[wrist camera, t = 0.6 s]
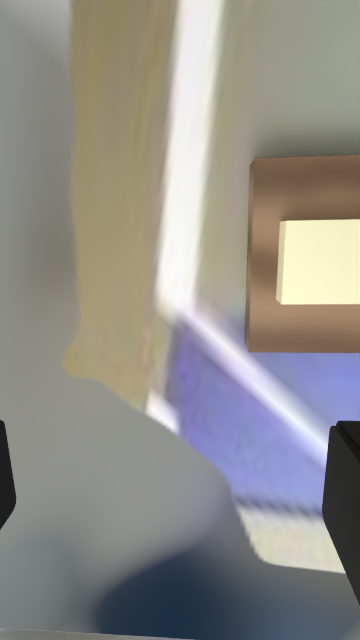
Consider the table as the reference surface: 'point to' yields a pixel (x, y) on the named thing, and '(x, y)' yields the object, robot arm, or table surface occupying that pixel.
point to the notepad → (319, 262)
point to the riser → (263, 245)
